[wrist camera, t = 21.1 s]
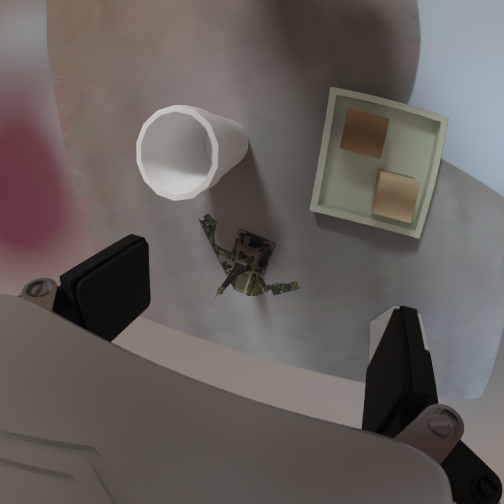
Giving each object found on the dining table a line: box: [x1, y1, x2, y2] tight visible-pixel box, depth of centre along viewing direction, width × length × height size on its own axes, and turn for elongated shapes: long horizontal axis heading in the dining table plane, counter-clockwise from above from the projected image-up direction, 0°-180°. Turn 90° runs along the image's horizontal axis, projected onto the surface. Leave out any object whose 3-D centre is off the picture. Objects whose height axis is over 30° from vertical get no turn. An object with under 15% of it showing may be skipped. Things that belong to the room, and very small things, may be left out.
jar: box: [369, 305, 429, 363], centre depth 37 cm, size 9×8×12 cm
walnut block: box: [340, 108, 389, 159], centre depth 32 cm, size 4×4×4 cm
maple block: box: [371, 168, 420, 223], centre depth 33 cm, size 4×4×4 cm
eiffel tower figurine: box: [199, 214, 299, 297], centre depth 40 cm, size 15×10×13 cm
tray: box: [309, 87, 448, 239], centre depth 34 cm, size 15×14×3 cm
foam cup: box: [137, 105, 249, 201], centre depth 34 cm, size 10×9×13 cm
